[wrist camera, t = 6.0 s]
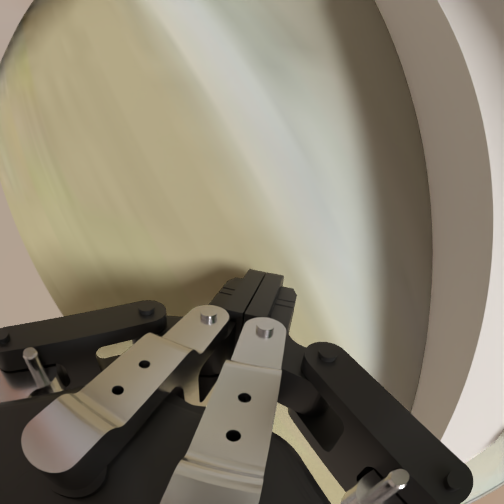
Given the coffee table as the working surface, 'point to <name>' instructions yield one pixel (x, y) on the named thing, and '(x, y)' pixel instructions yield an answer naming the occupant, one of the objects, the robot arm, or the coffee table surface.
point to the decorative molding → (460, 210)
